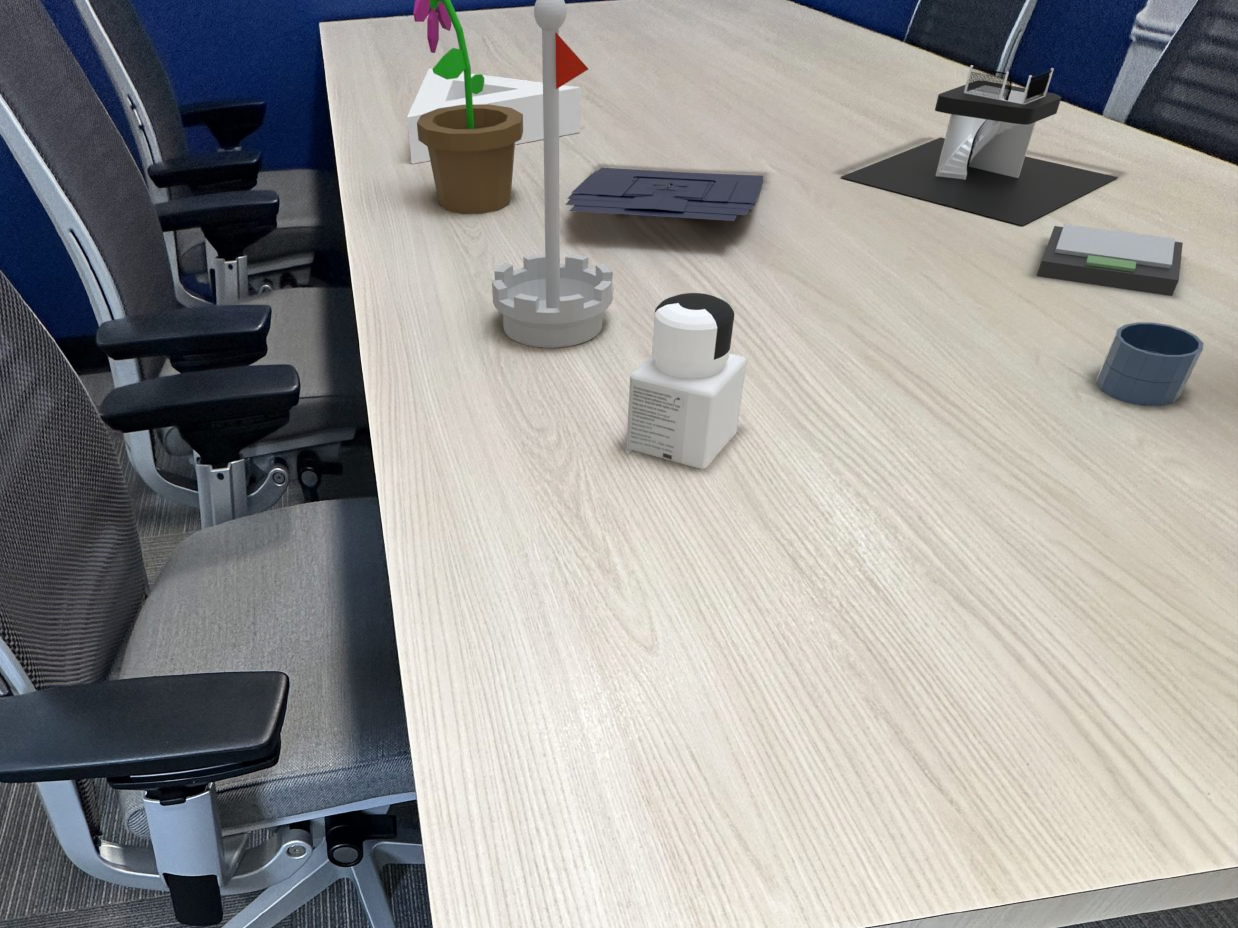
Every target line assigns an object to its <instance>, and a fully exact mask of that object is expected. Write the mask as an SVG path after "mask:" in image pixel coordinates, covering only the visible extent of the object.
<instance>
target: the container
mask: <svg viewBox="0 0 1238 928" xmlns="http://www.w3.org/2000/svg"><path fill="white" fill-rule="evenodd" d="M734 322H735V311H734V309H733V308H732V306H731V304H730V303H728V302H727V301H725V300H724V299H721V298H720V297H717V296H715V295H713V294H712V295H711V294H709V293H702V292H686V293H679V294H675V295H673V296H670V297H668V298H665V299H664V300H662V301H661V302H660V303H659V304H658V305H657V306H656V307H655V309H654V317H653V331H652V346H651V347H652V348H651V355H650V356H648V357H647V359H645V360H644V362H642V363H641V364H640V365H639V366H638V367H637V368H636V369H635V370H634V371H633V372H631V374H630V376H629V391H628V408H627V411H628V412H627V414H628V415H627V429H626V430H627V431H626V446H625V447H626V453H627V454H630V453H631V452H632V451H634V452H638V453H642V454H646V455H648V456H653V457H657V458H661V459H663V460H667V461H671V462H674V463H677V464H681V465H686V466H689V467H693V468H697V469H700V470H704V469H705V470H706V468H707V467H708V466H709V465H710V464H711V463H712V462H713V461H714V459H715V458H716V457H717V456H718V454H719V453H720V452H721V451H722V450H723V449H724V448H725V446H726V445H727V444H728V443H729V442H730V441H731V439H732V438H733V437H734V436H735V435H736V433H737V432H738V427H739V426H738V425H739V419H740V411H741V404H742V398H743V392H744V391H743V390H744V382H745V377H746V370H747V362H748V361H747V357H745V356H743V355H739V354H734V353H731V344H732V339H733V338H732V337H733V330H734V329H733V328H734Z"/></svg>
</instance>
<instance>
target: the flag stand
mask: <svg viewBox="0 0 1238 928" xmlns="http://www.w3.org/2000/svg"><path fill="white" fill-rule="evenodd" d="M533 8H534V9H533V15H534V16H533V17H534V20H535V23H536V24H537V26H538V27H539V28H540V29H541V48H542V49H541V50H542V52H541V54H542V58H541V59H542V60H541V61H542V63H541V64H542V83H543V131H544V139H543V186H544V187H543V192H544V193H543V194H544V195H543V196H544V253H538V254H537V253H536V254H529V255H526V256H523V257H522V259H523V260H522V261H523V266H522V267H520V268H517V269H514V265H513V264H510V263H507V262H505V263H503V264H501V265H500V266H498V267H497V268H496V269H495V270H494V271H493V272H494V280H491V293H492V304H493V306H494V308H495V309H496V310H497V311H498V312H499V313H500V314H502V323H503V331H504V333H505V334H506V336H507V337H508V338H510V339H511V340H513V341H514V342H517V343H519V344H521V345H526V346H528V347H529V346H530V347H536V348H547V349H548V348H549V349H550V348H551V349H552V348H553V349H554V348H555V349H556V348H565V347H572V346H576V345H579V344H583V343H586V342H588V341H590V340H592V339H594V338H595V337H597V336H598V335H599V334H600V332H602V329H603V326H604V325H603V324H604V323H603V320H604V311H606V310H607V309H608V308H609V307H610V306H611V305H612V302H613V299H614V285H613V270H612V269H611V267H610V266H608V265H607V264H606V263H600V264H597V265H595V269H593V268H591V267H589V256H585V255H581V254H574V253H567V254H566V255H565V257H564V258H565V260H564V261H565V263H561V261H560V260H561V258H560V257H561V256H560V253H561V251H560V249H561V248H560V245H561V244H560V243H561V242H560V240H561V239H560V237H561V236H560V233H561V232H560V231H561V230H560V136H559V87H561V86H563V85H566V84H568V83H570V82H571V81H572V80H574V79H575V78H577V77H579V76H580V75H582V74H584V73H585V72H588V70H589V68H588V66H587V65H586V64H585V63H584V62H583V60H581V58H580V57H579V56H578V55H577V54H576V53H575V52H574V51H573V49H572V48H571V47H570V46H569V45H568V44H567V43H566V41H564V39H562V37H561V36H560V35H559V34H560V33H559V32H560V30H559V29H560V28H561V27H562V26H563V25H564V23H565V21H566V17H567V4H566V2H565V0H536V1H535V4H534V7H533Z"/></svg>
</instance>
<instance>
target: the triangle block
mask: <svg viewBox="0 0 1238 928" xmlns="http://www.w3.org/2000/svg"><path fill="white" fill-rule="evenodd" d="M433 68H434V67H432V68H430V67H429V68H428V69H427V72H426V74H425V77H424V78H423V81H422V83H421V85H420V87H419V89H418V92H417V93H416V96H415V99H414V100H413V102H412V105H411V106H410V108H409V109H410V110H409V112H408V114H407V116H406V122H407V131H408V142H409V152H410V161H411V165H415V164H421V163H425V162H430V157H429V152H428V147H427V146H426V145H425V144H423V143H422V142H420V141H419V140H418V130H417V122H418V120H419V118H420V116H421V115H423V114H425V113H428V112H430V111H433V110H435V109H438V108H445V107H451V106H457V105H466V100H465V84H464V71H463V72H462V73H461V74H460V76H459V77H458V78H455V79H445V78H443V77H441V76H438V75H436V74H434V73H433ZM475 74H476V73H472V72H471V77H473V76H474V75H475ZM482 75H483V77H484V86H483V91H482V92H480V93H478V94H474V93H472V100H473V105H480V104H490V105H496V106H503V107H509V108H512V109H514V110H516V111H518V112H520V113H521V114H523V134H522V138H521V140H519V141H517V142H515V146H516V145H520V144H521V145H522V144H526V143H531V142H536V141H542V140H544V131H543V81H542V82H541V81H534V80H525V79H517V78H509V77H503V76H502V77H501V76H495V75H494V76H493V75H488V74H482ZM581 96H582V95H581V87H579V86H572V85H566V84H564V85H563V86H561V87H559V137H563V136H568V135H573V134H579V133H581Z"/></svg>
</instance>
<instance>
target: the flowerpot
mask: <svg viewBox="0 0 1238 928" xmlns="http://www.w3.org/2000/svg"><path fill="white" fill-rule="evenodd" d="M413 6H414V7H413V14H412V15H413V19H414V20H413V21H414V22H415V23H424V22H425V21H426V38H427V39H426V40H427V43H428V47H429V50H430V53H431V54H436V52H437V47H438V44H439V41H440V35H439V34H440V26H441V28H442V29H444V30H446V31H449V32H450V31H451V29H452V26H453V28H454V31H455V35H456V39H457V44H458V48H457V47H452V48H451V49H449V50H448V51H447V52H445V53H444V54H443V56H442V57H441V58H440V59H439V60H438V61H437V63H436V64H435V65H434V67H432V68H433V73H434V74H436V75H438V76H441V77H443V78H445V79H455V78H458V77H459V76H460V74H461V73H462V72H464V84H465V100H466V105H457V106H451V107H445V108H438V109H435V110H433V111H430V112H428V113H425V114H423V115H421V116H420V118H419V120H418V122H417V130H418V140H419V141H420V142H422V143H423V144H425V145H426V146H427V147H428V152H429V157H430V161H429V162H430V166H431V171H432V176H433V180H434V181H433V182H434V185H435V191H436V195H437V201H438V205H439V206H440V207H441V208H442V209H444V210H445V211H449V212H454V213H458V214H485V213H491V212H495V211H499V210H501V209H503V208H505V207H507V206H509V205H510V202H511V199H512V186H513V175H514V174H513V173H514V161H515V149H516V148H515V147H516V145H515V142H517V141H519V140H521V138H522V134H523V114H521V113H520V112H518V111H516V110H514V109H512V108H509V107H503V106H496V105H490V104H480V105H473V100H472V93H474V94H478V93H480V92H482V91H483V86H484V77H483V75H484V74H479V73H474V74H475V75H474V76H473V77H471V73H472V70H471V62H470V58H469V52H468V48H467V43H466V37H465V33H464V29H463V26H462V24H461V21H460V19H459V17H458V15H457V13H456V10H455V7H454V6H453V3H452V1H451V0H414V5H413ZM426 19H427V20H426Z"/></svg>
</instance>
